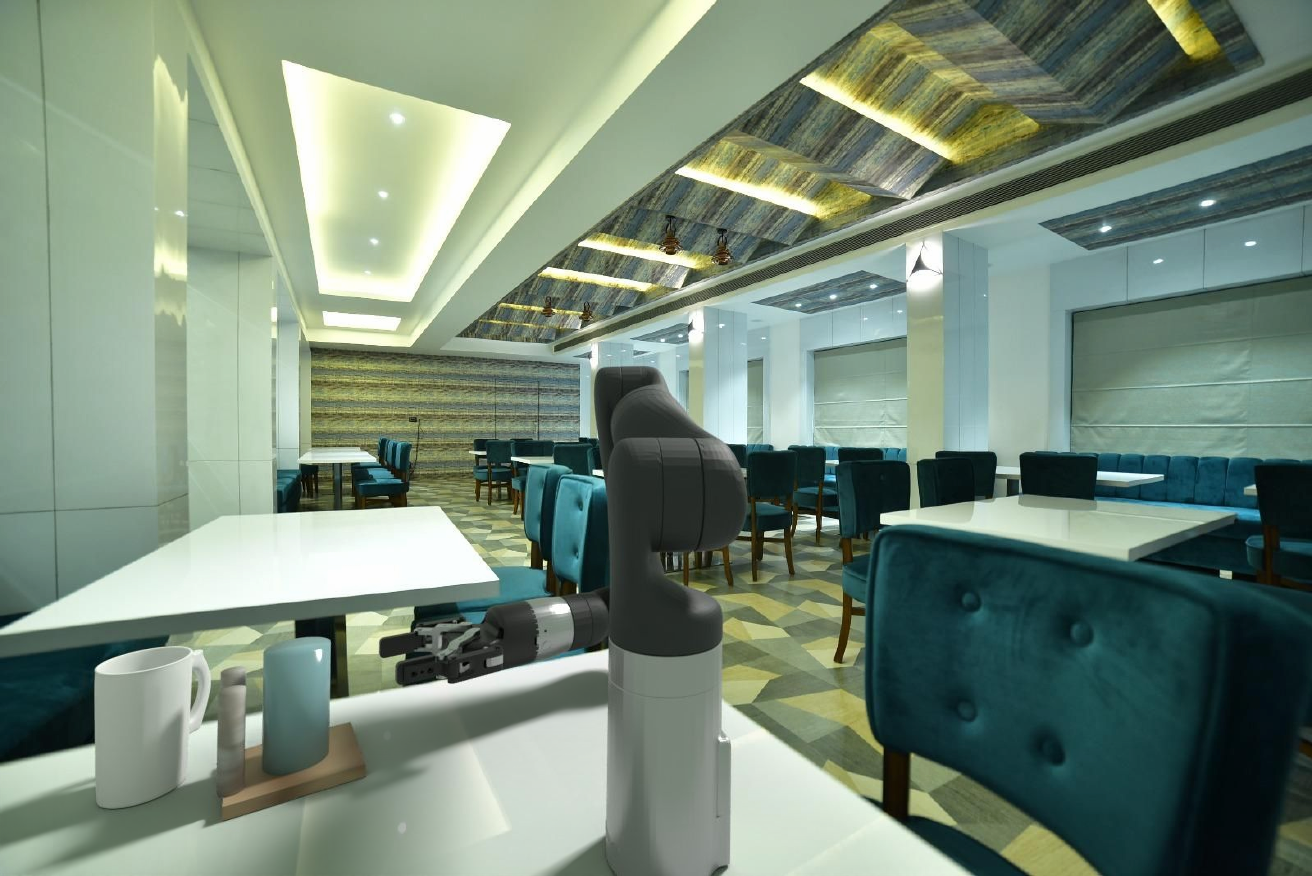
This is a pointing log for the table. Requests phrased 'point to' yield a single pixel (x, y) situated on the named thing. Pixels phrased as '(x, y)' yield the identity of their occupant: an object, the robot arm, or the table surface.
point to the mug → (146, 722)
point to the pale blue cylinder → (295, 705)
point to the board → (243, 767)
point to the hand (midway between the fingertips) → (387, 660)
